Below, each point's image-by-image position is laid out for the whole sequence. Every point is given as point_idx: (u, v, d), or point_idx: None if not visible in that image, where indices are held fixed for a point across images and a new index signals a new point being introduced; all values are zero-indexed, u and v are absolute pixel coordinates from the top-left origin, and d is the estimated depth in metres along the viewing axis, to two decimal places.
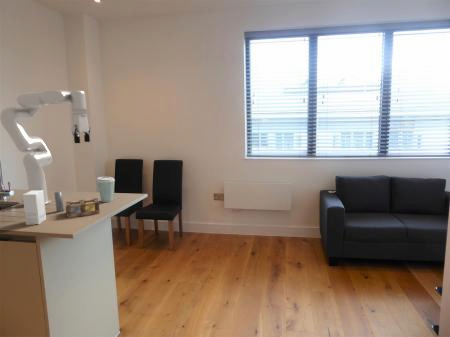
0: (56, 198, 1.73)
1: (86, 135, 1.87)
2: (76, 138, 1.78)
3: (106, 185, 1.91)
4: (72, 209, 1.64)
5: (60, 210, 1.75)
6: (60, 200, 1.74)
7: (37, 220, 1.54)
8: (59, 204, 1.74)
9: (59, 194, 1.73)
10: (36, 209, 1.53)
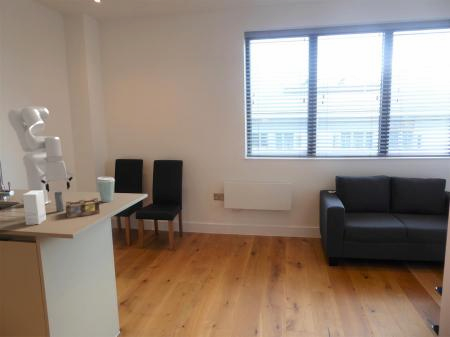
0: (56, 198, 1.73)
1: (48, 184, 1.72)
2: None
3: (106, 185, 1.91)
4: (72, 209, 1.64)
5: (60, 210, 1.75)
6: (60, 200, 1.74)
7: (37, 220, 1.54)
8: (59, 204, 1.74)
9: (59, 194, 1.73)
10: (36, 209, 1.53)
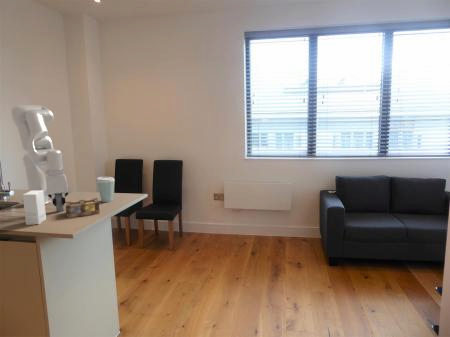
0: (56, 198, 1.73)
1: None
2: None
3: (106, 185, 1.91)
4: (72, 209, 1.64)
5: (60, 210, 1.75)
6: (60, 200, 1.74)
7: (37, 220, 1.54)
8: (59, 204, 1.74)
9: (59, 194, 1.73)
10: (36, 209, 1.53)
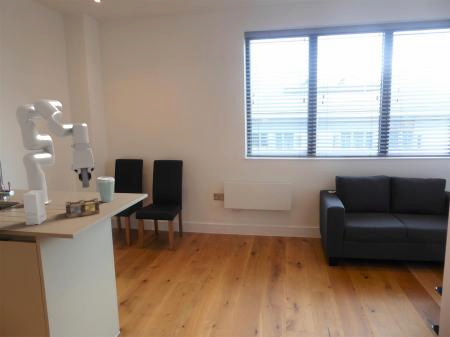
0: (82, 173, 1.68)
1: None
2: None
3: (106, 185, 1.91)
4: (72, 209, 1.64)
5: (86, 185, 1.70)
6: (86, 175, 1.69)
7: (37, 220, 1.54)
8: (85, 179, 1.69)
9: (85, 168, 1.68)
10: (36, 209, 1.53)
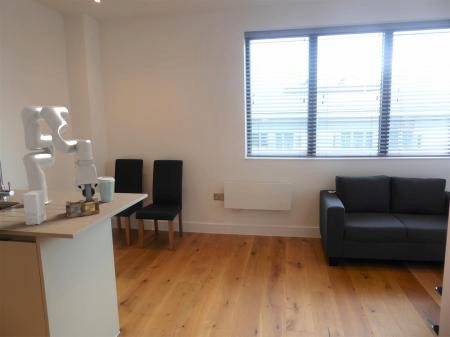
0: (86, 189, 1.70)
1: None
2: None
3: (106, 185, 1.91)
4: (72, 209, 1.64)
5: (90, 201, 1.71)
6: (90, 191, 1.70)
7: (37, 220, 1.54)
8: (89, 195, 1.70)
9: (88, 184, 1.70)
10: (36, 209, 1.53)
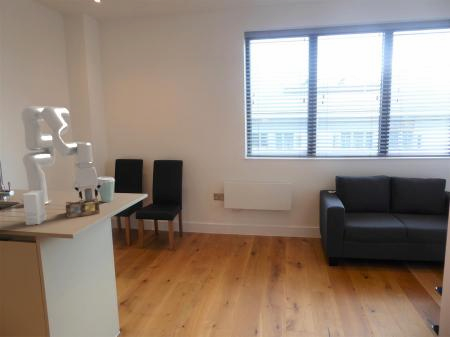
0: (86, 195, 1.70)
1: (81, 191, 1.70)
2: None
3: (106, 185, 1.91)
4: (72, 209, 1.64)
5: None
6: (90, 197, 1.71)
7: (37, 220, 1.54)
8: (89, 201, 1.71)
9: (89, 191, 1.70)
10: (36, 209, 1.53)
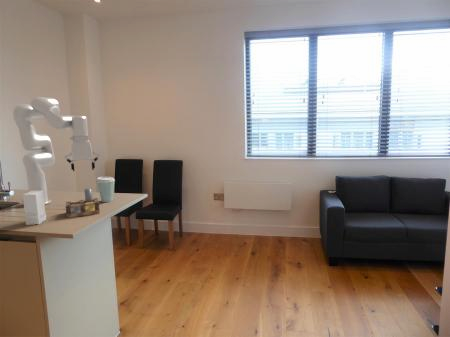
0: (86, 195, 1.70)
1: (73, 163, 1.70)
2: None
3: (106, 185, 1.91)
4: (72, 209, 1.64)
5: None
6: (90, 197, 1.71)
7: (37, 220, 1.54)
8: (89, 201, 1.71)
9: (89, 191, 1.70)
10: (36, 209, 1.53)
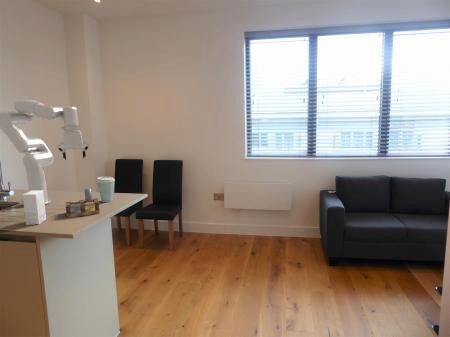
0: (86, 195, 1.70)
1: None
2: None
3: (106, 185, 1.91)
4: (72, 209, 1.64)
5: None
6: (90, 197, 1.71)
7: (37, 220, 1.54)
8: (89, 201, 1.71)
9: (89, 191, 1.70)
10: (36, 209, 1.53)
